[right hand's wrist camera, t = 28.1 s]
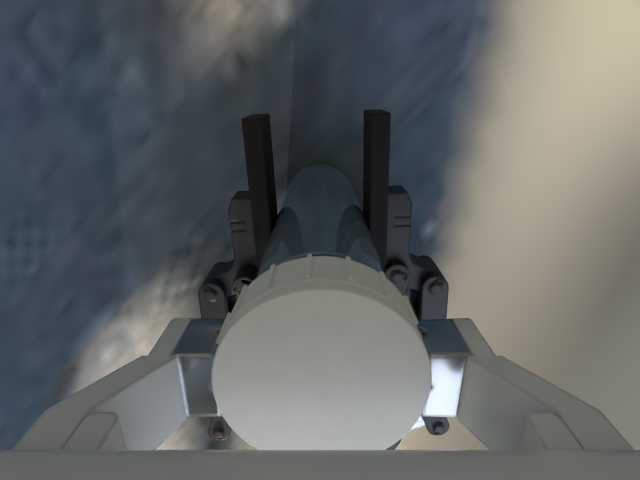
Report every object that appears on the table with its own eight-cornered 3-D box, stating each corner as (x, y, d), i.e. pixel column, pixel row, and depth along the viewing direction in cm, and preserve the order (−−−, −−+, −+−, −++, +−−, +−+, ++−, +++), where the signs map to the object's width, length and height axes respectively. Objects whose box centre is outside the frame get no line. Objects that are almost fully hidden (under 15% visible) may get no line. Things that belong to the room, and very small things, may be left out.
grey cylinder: (279, 171, 23) (212, 294, 9) (348, 157, 23) (397, 261, 9) (294, 236, 25) (258, 433, 10) (359, 224, 25) (417, 409, 10)
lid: (207, 263, 9) (182, 298, 8) (414, 241, 9) (434, 272, 7) (244, 420, 11) (231, 476, 9) (419, 405, 11) (436, 459, 9)
